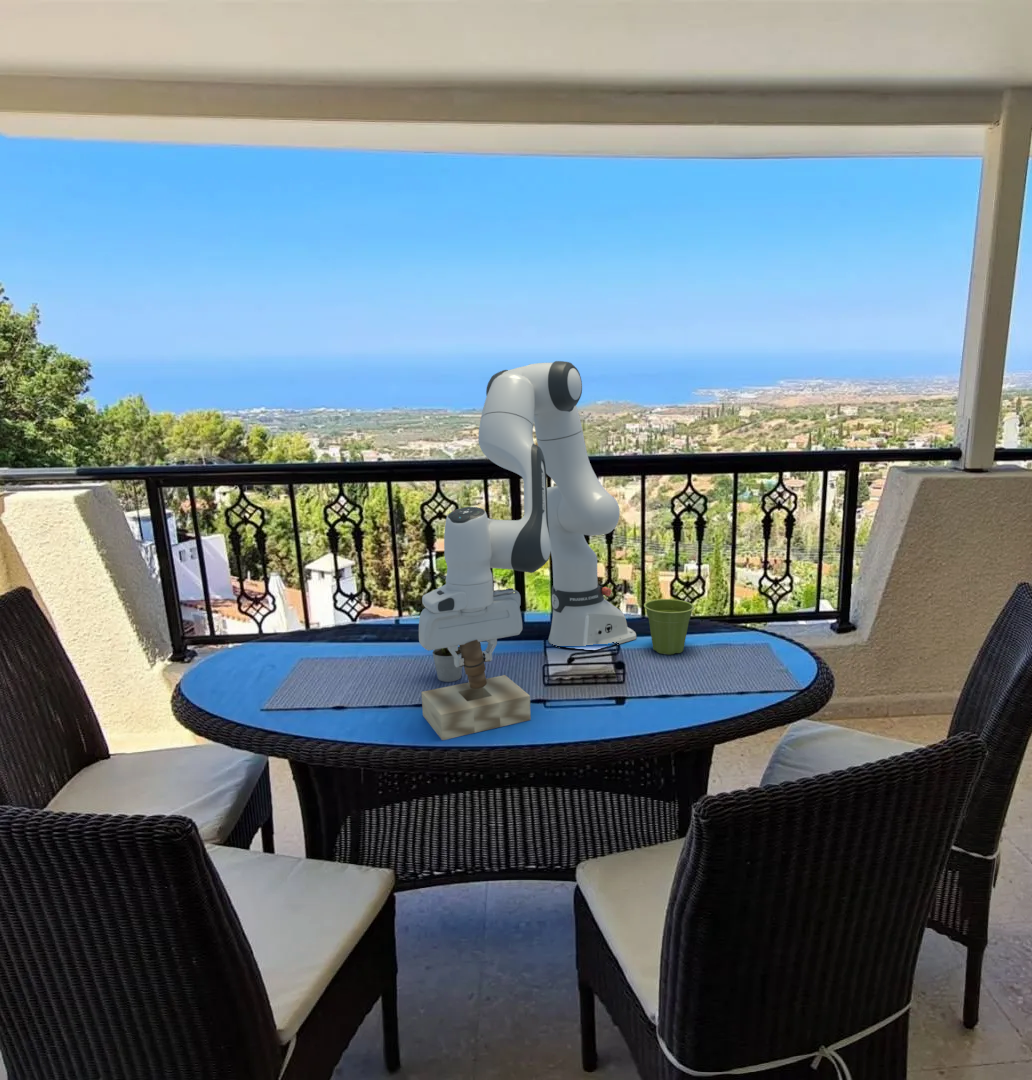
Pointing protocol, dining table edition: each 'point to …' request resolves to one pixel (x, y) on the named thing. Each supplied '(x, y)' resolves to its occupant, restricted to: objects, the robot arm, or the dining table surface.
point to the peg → (474, 664)
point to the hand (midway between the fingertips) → (473, 663)
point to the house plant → (446, 665)
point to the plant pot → (668, 624)
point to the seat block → (475, 707)
